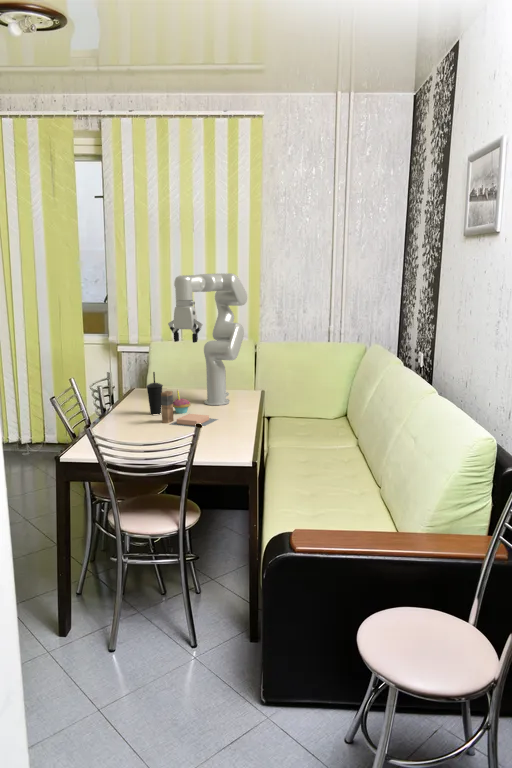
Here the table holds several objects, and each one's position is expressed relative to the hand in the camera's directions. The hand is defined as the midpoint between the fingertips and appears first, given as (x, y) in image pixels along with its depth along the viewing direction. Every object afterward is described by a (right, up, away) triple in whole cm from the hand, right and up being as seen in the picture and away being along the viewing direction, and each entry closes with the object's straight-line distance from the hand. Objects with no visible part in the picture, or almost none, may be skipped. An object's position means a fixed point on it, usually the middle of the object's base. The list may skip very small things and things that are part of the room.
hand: (185, 341), depth 282 cm
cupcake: (-3, -33, +10) cm, 35 cm away
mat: (+5, -36, -8) cm, 38 cm away
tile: (+7, -34, -5) cm, 35 cm away
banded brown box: (-7, -36, -8) cm, 38 cm away
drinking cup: (-15, -33, +10) cm, 38 cm away
